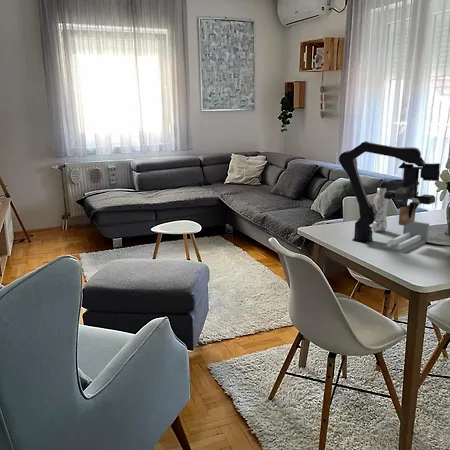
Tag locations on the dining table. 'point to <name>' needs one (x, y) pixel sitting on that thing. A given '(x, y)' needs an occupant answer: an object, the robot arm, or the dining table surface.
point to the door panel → (405, 215)
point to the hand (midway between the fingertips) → (407, 217)
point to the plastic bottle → (380, 211)
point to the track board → (409, 237)
